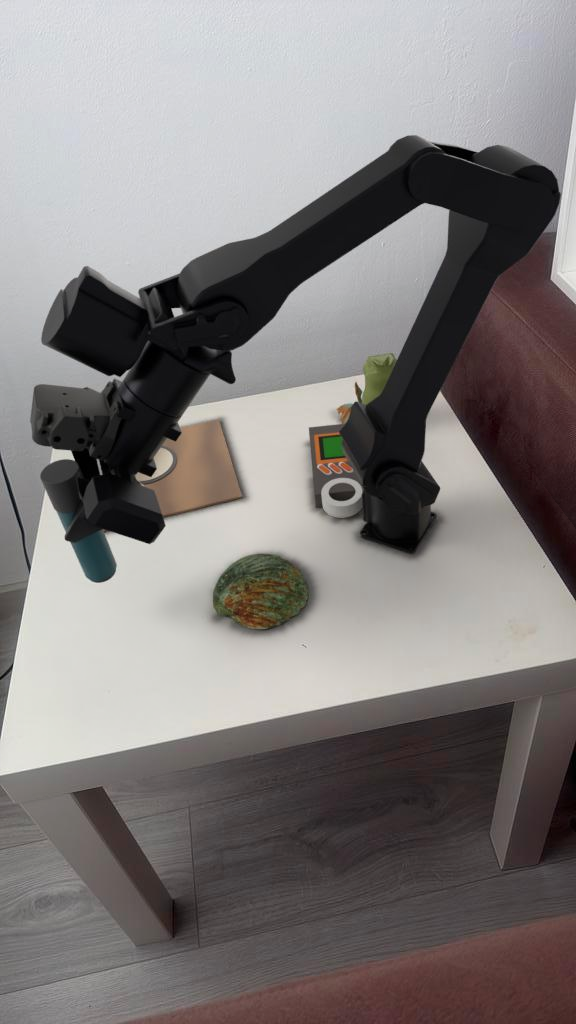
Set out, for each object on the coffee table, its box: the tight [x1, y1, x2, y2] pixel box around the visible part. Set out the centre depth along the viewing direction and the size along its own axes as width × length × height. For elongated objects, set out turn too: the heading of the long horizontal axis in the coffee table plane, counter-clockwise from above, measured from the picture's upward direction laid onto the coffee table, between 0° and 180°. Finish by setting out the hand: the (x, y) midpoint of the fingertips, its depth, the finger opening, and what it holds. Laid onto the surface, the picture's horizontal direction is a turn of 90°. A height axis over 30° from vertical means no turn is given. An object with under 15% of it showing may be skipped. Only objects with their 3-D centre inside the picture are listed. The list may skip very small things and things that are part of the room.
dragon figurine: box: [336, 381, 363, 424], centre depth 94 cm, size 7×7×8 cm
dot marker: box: [39, 458, 118, 584], centre depth 68 cm, size 3×3×13 cm
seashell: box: [212, 553, 309, 630], centre depth 75 cm, size 10×4×10 cm
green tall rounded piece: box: [361, 352, 398, 405], centre depth 92 cm, size 6×5×10 cm
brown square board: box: [103, 418, 243, 533], centre depth 93 cm, size 17×17×1 cm
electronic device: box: [308, 423, 364, 519], centre depth 88 cm, size 7×3×15 cm
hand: (67, 528), depth 68 cm, fingers closed on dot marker, 3 cm apart
